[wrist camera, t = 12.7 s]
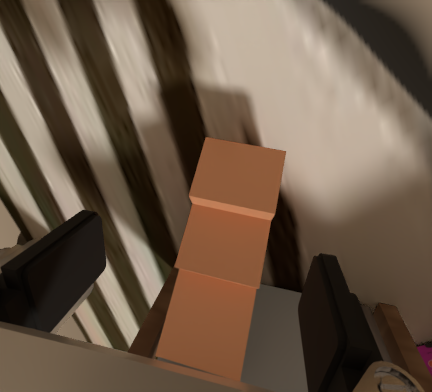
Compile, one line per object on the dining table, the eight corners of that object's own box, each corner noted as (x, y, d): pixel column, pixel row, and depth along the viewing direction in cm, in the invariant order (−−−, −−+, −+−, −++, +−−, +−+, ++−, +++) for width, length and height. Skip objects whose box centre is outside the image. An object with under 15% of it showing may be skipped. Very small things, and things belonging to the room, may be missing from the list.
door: (194, 279, 26) (137, 420, 15) (196, 258, 25) (135, 395, 14) (367, 319, 23) (442, 521, 13) (379, 297, 22) (472, 501, 12)
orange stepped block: (165, 346, 17) (136, 372, 12) (212, 173, 21) (205, 137, 16) (238, 368, 16) (241, 405, 11) (272, 185, 20) (286, 151, 15)
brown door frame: (177, 273, 27) (86, 454, 14) (178, 258, 26) (81, 437, 13) (387, 321, 24) (516, 610, 11) (395, 306, 23) (547, 602, 10)
